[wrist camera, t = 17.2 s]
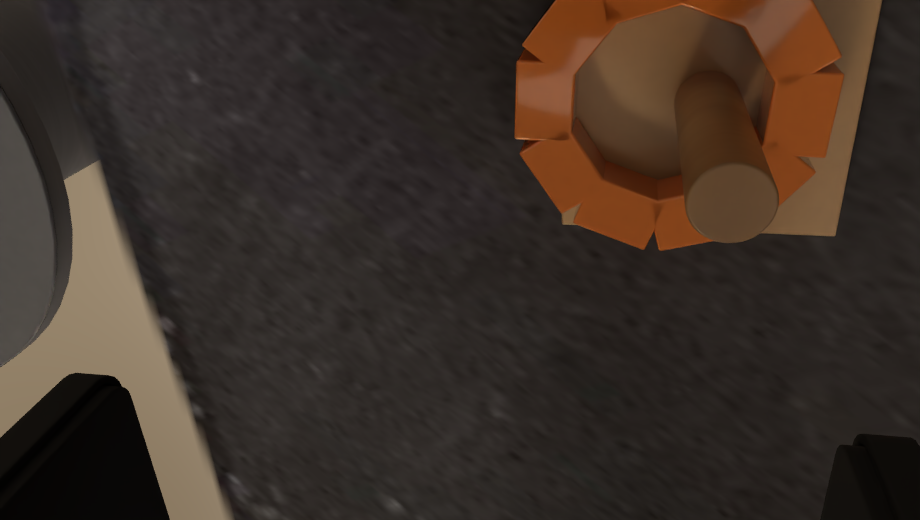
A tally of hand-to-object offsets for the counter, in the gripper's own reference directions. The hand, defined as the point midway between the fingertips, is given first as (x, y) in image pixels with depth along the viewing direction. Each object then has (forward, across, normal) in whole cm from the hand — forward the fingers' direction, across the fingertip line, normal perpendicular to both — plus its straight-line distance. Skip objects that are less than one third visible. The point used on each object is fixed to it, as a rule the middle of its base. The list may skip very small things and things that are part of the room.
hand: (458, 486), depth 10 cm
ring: (+17, -4, 0) cm, 18 cm away
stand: (+19, -5, 0) cm, 19 cm away
